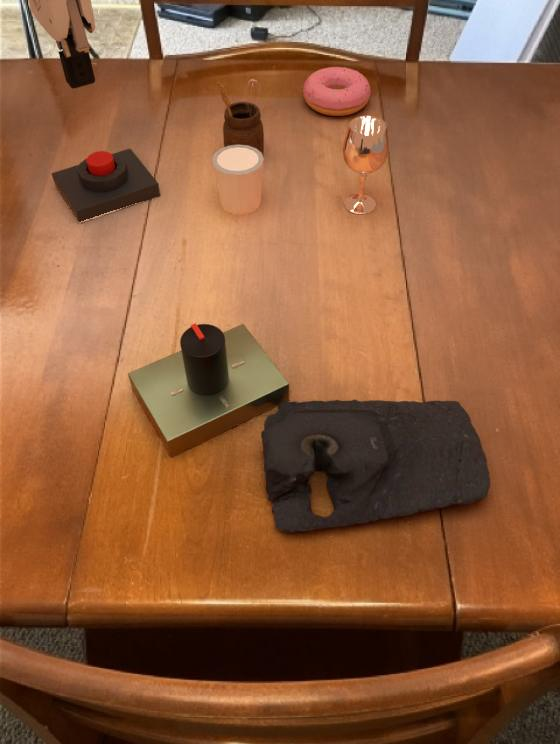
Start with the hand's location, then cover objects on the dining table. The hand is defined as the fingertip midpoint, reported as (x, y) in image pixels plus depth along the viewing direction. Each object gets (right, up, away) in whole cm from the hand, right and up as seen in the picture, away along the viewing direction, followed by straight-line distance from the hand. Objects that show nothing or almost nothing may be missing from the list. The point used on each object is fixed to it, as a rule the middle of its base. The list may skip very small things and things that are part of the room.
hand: (81, 82), depth 84 cm
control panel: (+17, -38, -10) cm, 43 cm away
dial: (+17, -36, -13) cm, 42 cm away
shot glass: (+19, -12, +11) cm, 25 cm away
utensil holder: (+19, -3, +18) cm, 27 cm away
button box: (0, -10, +13) cm, 16 cm away
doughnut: (+34, +8, +27) cm, 44 cm away
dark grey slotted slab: (+34, -45, -16) cm, 59 cm away
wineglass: (+36, -13, +10) cm, 39 cm away
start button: (0, -8, +10) cm, 12 cm away
